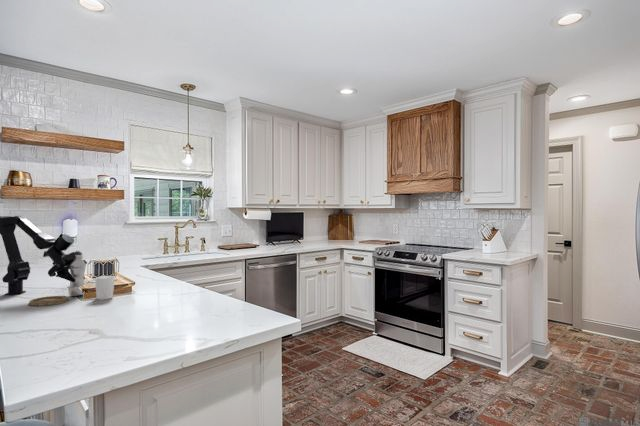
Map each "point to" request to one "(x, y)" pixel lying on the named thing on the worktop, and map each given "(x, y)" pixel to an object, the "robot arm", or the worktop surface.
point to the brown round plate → (48, 301)
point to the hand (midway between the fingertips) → (79, 280)
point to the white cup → (104, 287)
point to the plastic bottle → (77, 275)
